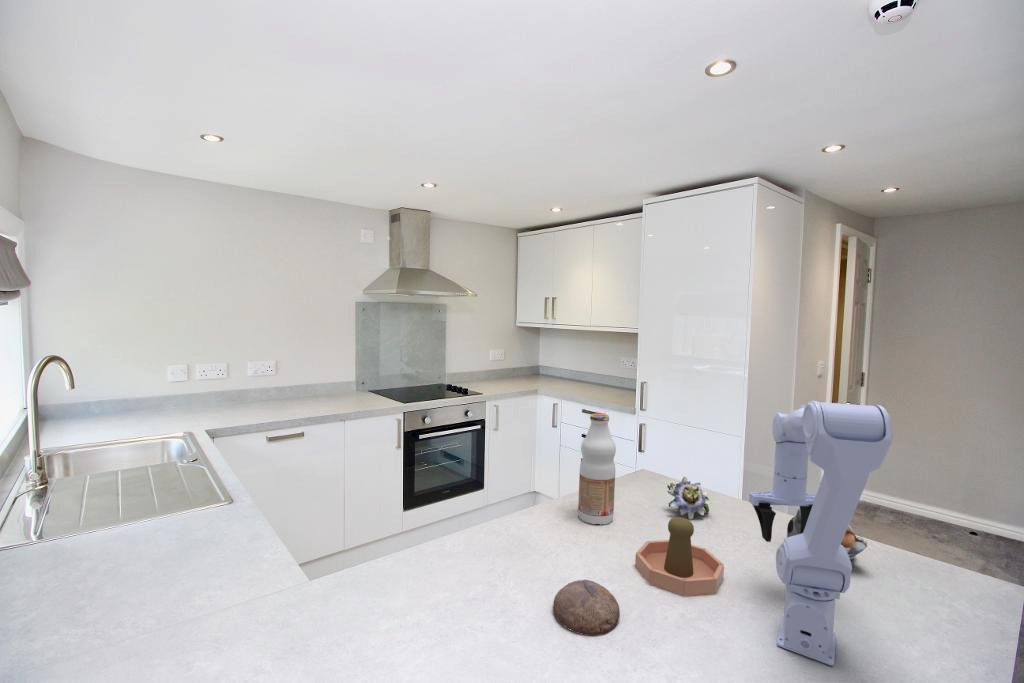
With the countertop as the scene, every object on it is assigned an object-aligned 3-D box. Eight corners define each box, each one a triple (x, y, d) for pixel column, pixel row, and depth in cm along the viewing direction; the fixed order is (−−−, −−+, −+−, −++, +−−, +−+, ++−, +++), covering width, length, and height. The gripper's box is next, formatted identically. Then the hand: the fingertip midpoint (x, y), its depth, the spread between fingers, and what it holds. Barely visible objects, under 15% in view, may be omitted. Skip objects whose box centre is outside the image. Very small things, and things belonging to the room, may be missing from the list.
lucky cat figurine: (862, 554, 113) (882, 515, 105) (844, 589, 106) (864, 551, 99) (794, 517, 122) (808, 479, 115) (774, 547, 116) (788, 509, 108)
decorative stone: (581, 646, 79) (583, 614, 79) (540, 607, 89) (541, 578, 89) (633, 623, 85) (634, 594, 85) (588, 589, 96) (589, 562, 95)
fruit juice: (585, 526, 123) (589, 419, 122) (572, 511, 132) (576, 411, 131) (619, 524, 125) (623, 418, 124) (604, 509, 135) (608, 411, 133)
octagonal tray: (710, 605, 91) (710, 590, 91) (626, 575, 101) (627, 561, 100) (728, 568, 105) (728, 555, 104) (653, 545, 114) (653, 533, 114)
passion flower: (689, 538, 131) (670, 507, 127) (671, 514, 141) (653, 485, 138) (724, 516, 130) (706, 484, 127) (703, 494, 141) (686, 464, 137)
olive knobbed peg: (696, 579, 99) (698, 527, 98) (665, 575, 100) (668, 524, 99) (691, 564, 105) (693, 515, 104) (662, 561, 106) (664, 512, 105)
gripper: (815, 468, 99) (811, 532, 100) (744, 466, 100) (740, 529, 100) (837, 481, 92) (832, 549, 93) (760, 478, 92) (756, 546, 93)
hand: (785, 540), depth 96 cm, fingers open, 7 cm apart
